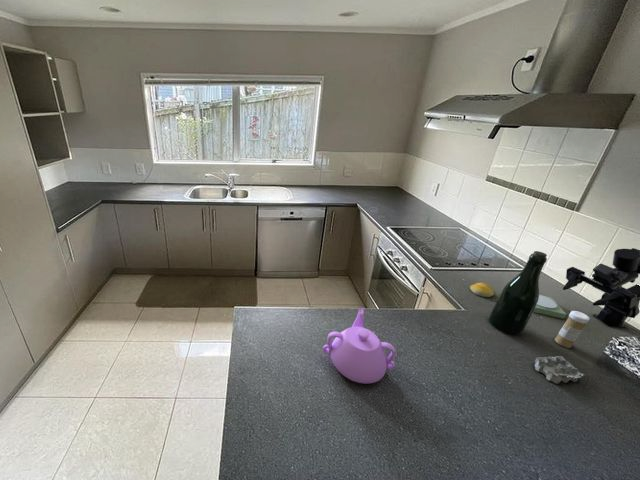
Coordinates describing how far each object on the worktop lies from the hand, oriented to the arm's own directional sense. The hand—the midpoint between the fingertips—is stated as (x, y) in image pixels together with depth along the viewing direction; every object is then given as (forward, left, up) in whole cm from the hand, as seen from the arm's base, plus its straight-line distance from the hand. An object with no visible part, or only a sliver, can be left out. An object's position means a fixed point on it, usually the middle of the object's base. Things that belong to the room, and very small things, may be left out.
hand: (577, 296), depth 104 cm
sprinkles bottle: (+5, +9, -16) cm, 19 cm away
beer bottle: (+21, +3, -16) cm, 27 cm away
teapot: (+83, +30, -16) cm, 90 cm away
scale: (-2, -14, -15) cm, 21 cm away
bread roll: (+17, -20, -16) cm, 31 cm away
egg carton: (+19, +24, -16) cm, 34 cm away
